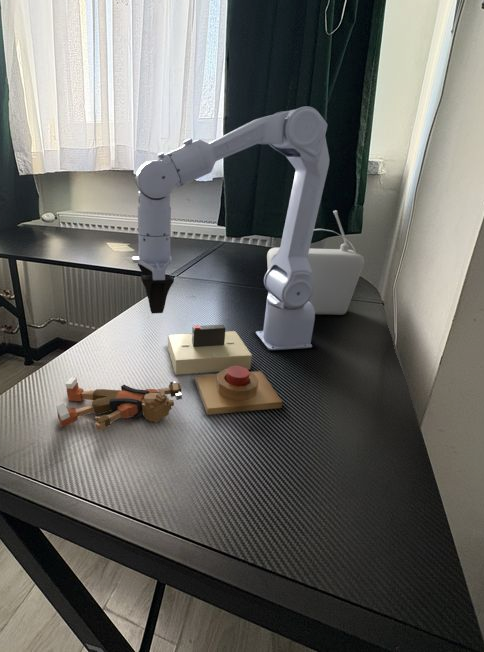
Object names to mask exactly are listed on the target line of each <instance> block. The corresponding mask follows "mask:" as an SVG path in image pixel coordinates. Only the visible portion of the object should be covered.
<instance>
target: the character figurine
mask: <svg viewBox="0 0 484 652" xmlns="http://www.w3.org/2000/svg"><path fill="white" fill-rule="evenodd" d="M64 385H65V388H66V394H67V395H66V396H67V399H68V401H70V402H82V401H83V400H89V401H91V404H90V405H87V406H84V407H80V408H77V409H76V408H74V407H70V408H67V405H66V403H64V402H63V403H61V404H59V405H57V406H56V412H57V413H56V414H57V419H58V421H59V423H60V426H61V428H63V427H65V426H69V425H71V424H73V423H75V422H76V421H77V420H78V418H79V417H81V416H86V415H89V414H93V413H94V415H95V416H94V421H96V422H94V427H95V430H97V431H99V432H101V431H102V430H104V429H105V428H107V427H110V426H111V423H113V422H114V421H117V420H118V419H129V418H131V417H133V418H134V419H135V418H139V417H140V416H141V414H142V416H143V417H144V418H145V419H146V420H148V421H149V422H155V423H159V422H160V421H161V420H163V419H164V418H166V417H167V416H168V415H169V414H170V411H171V410H172V409H173V408H172V407H174V406H175V400H174V399H169V397H168V396H167V395H170V397H171V398H173V397H175V399H176V401H178V400H182V399H183V393H182V392H183V391H182V387H181V384H180V382H176V381H175V380H173V381H170V382H169V384H168V387H163V388H157V389H155V388H146V389H137V388H133V387H130V386H128V385H126V384H122V385H121V386H120V389H121V390H120V389H107V388H106V389H105V388H97V389H92V390H84V388H81V387H79V383H78V378H77V376H71V377H69V379H68V380H66V382H65V384H64ZM108 412H111V413H110V414H108V415H107V414H106V413H108ZM102 414H103V415H102ZM97 415H101V416H97Z"/></svg>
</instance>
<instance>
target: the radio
mask: <svg viewBox="0 0 484 652" xmlns="http://www.w3.org/2000/svg"><path fill="white" fill-rule="evenodd" d="M332 212H333V216H334V217H335V219H336V223H337V225H338V228H339V231H340V233H341V234H340V233H338V232H336V231H334V230H330V229H324V228H314V231H313V232H315V231H326V232H331V233H335V234H337V235H339V236H340V237H342V239H343V243H342V244H340V246H339V247H340V248H311V247H310V249H309V253H308V257H307V259H308V262H309V265H310V267H311V270H312V277H311V284H312V288H313V292H312V296H311V298H310V300H309V302H310V303H311V304H312V306H313V308H314V312H315V315H321V316H322V315H323V316H324V315H325V316H326V315H327V316H344V315H345V314H346V313H347V312H348V309H349V306H350V304H351V301H352V298H353V295H354V294H355V290H356V288H357V284H358V281H359V280H360V276H361V274H362V271H363V268H364V265H365V258H364V256H363V255H361V254H360V253H358V251H357V250H356V248H355V246H354V244H353V243H352V242H351V241H350V240H349V239H347V238H346V235H345V232H344V228H343V227H342V223H341V220H340V217H339V213H338V212H339V211H338V210H336V209H335V210H333V211H332ZM348 243H349V244H350V245H349V244H348ZM350 246H351V248H352V249H349V247H350ZM279 251H280V247H272V248H270V249H269V250H268V251H267V254H266V262H267V266H266V267H267V271H268V270H269V268H270V266H271V263H272V259H273V258H274V257H275V256H276V255H277V254H278V253H279Z"/></svg>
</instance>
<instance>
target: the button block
mask: <svg viewBox="0 0 484 652" xmlns="http://www.w3.org/2000/svg"><path fill="white" fill-rule="evenodd" d="M226 376H227V369H225V370H223V371H220V372H218V373H216V374H215V373H213V374H202V375H195V376H194V383H195V386H196V388H197V392H198V393H199V397H200V399H201V402H202V404H203V407H204V410H205V413H206V415H208V416H210V415H220V414H229V413H230V414H232V413H243V412H253V411H263V410H274V409H282V408H283V407H282V406H283V400H282V399H281V398H280V396H279V395H278V393H277V392H276V390H275V389H274V387H273V386H272V384H271V383H270V381H269V380H268V378H267V377H266V375H265V374H264V373H263V371H262V370H256V371H249V382H248V384H247V385H246V386H234V385H231V384H229V383H227V381H226Z"/></svg>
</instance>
